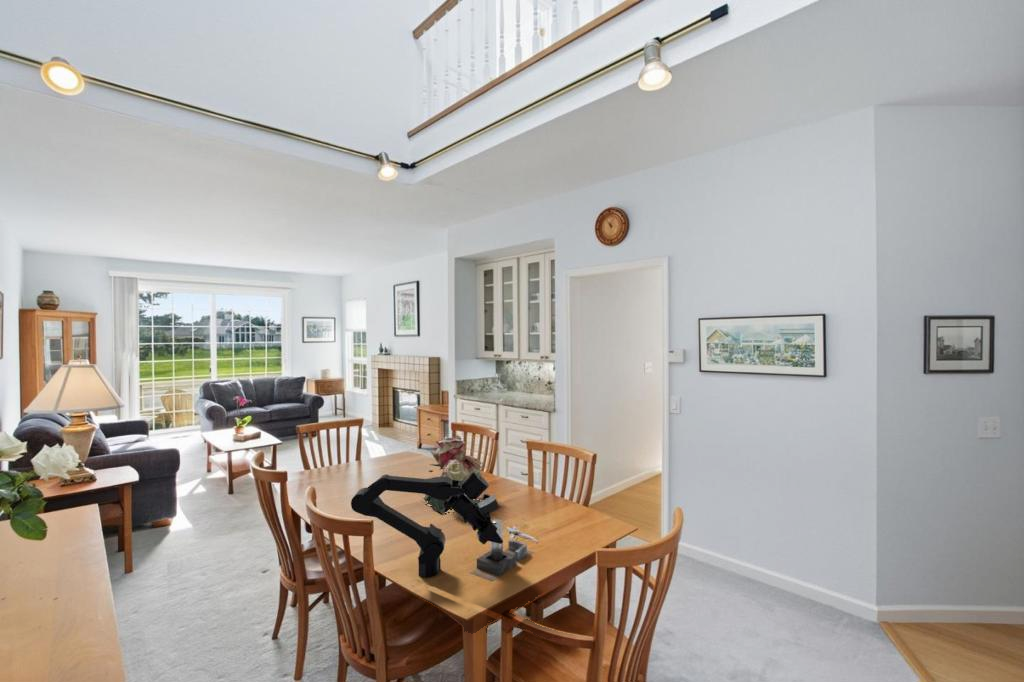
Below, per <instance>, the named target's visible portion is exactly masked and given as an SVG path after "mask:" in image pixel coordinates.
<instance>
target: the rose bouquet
mask: <svg viewBox="0 0 1024 682" xmlns="http://www.w3.org/2000/svg"><path fill="white" fill-rule="evenodd" d="M435 443H436V444H437V445H438V447H437V449H436V448H434V449H429V450H430V453H431V456H433V458H434V459H435V461H436V462H437V463H430V464H429V466H434V467H440V468H439V470H442V473H441V475H440V476H439V477H443V476H447V477H450V478H451V479H452V480H459V481H463V482H464V481H465V480H466V479H467V478H468V477H469V476H470V474H471V473H472V472H473V471H474V472H475V473H477V474H479V475H480V476H482V475H483V474H482V473H481V471H482V468H483V466H482V464H483V462H482V461H481V460H479V459H478V458H476V457H474V456H472V455H469V454H468V455H467V454H466V451H467V450H465V449H464V447H465V445H466V441H464V440H462V437H461V436H460V435H458V434H456V435H455V436H453V437H446V438H444V439H443V440H439V441H435ZM465 454H466V455H465ZM432 472H434V471H433V470H428V473H432ZM422 499H424V500H425V501H428V503H427V502H426V503H427V504H430V505H432V507H431V509H432V510H433V511H435V512H439V513H440V514H442V515H446V514H445V512H444V504H443V501H444V500H439V499H435V498H432V497H430V496H428V495H425V494H424V497H423V498H422ZM447 500H448V499H447ZM470 500H471V501H472V502H473V501H474V502H476V503H477V504H478V503H480V502H481V501H480V500H477V499H475V500H472V499H470ZM454 513H456V512H455V511H454Z"/></svg>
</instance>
